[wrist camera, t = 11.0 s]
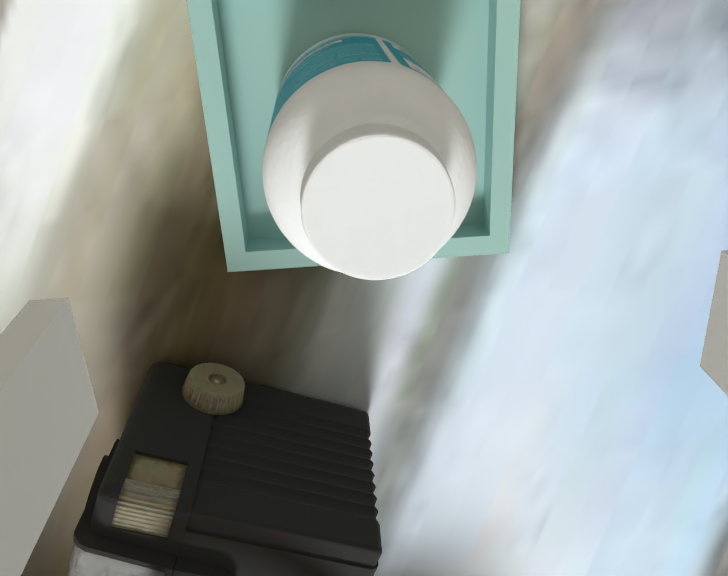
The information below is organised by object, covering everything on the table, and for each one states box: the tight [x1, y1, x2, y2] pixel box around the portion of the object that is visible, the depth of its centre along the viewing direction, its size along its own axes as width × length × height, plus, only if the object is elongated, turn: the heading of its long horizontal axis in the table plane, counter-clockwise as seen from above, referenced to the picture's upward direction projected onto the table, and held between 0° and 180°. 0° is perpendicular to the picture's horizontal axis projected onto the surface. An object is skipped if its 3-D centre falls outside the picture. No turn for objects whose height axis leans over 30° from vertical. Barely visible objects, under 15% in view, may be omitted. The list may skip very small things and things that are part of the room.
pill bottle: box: [262, 33, 477, 280], centre depth 27 cm, size 8×7×14 cm
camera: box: [68, 362, 382, 576], centre depth 35 cm, size 11×14×15 cm
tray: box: [187, 0, 520, 272], centre depth 32 cm, size 14×14×2 cm
